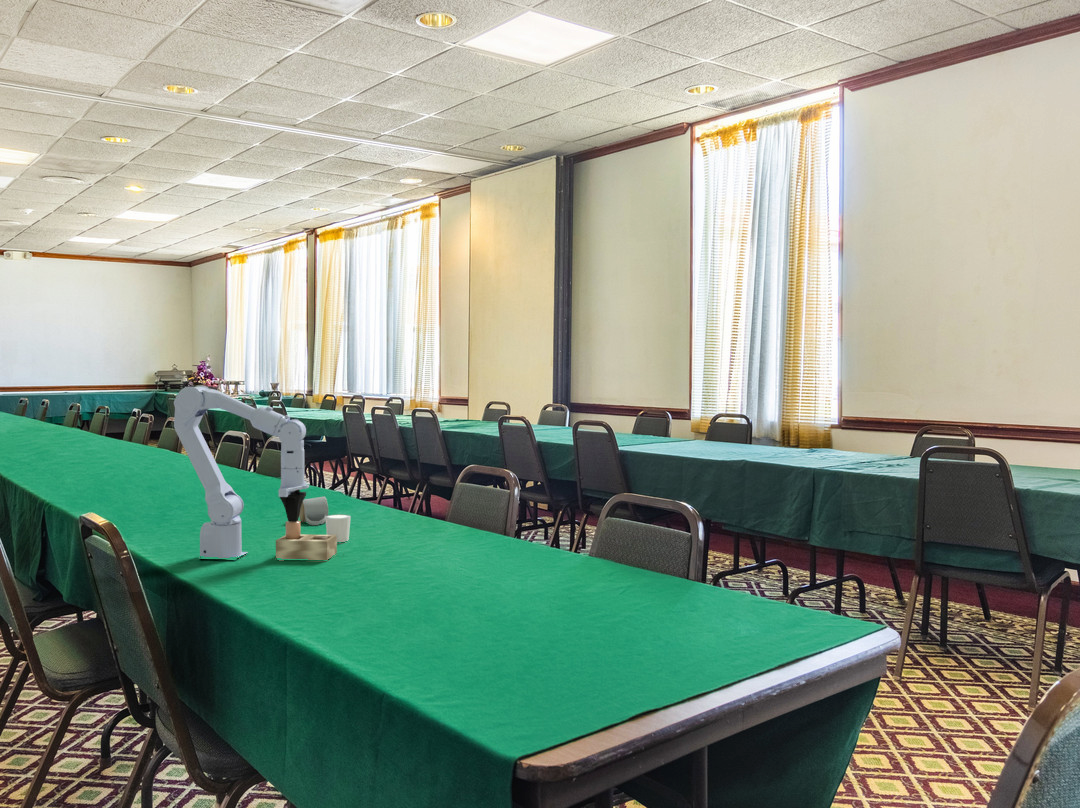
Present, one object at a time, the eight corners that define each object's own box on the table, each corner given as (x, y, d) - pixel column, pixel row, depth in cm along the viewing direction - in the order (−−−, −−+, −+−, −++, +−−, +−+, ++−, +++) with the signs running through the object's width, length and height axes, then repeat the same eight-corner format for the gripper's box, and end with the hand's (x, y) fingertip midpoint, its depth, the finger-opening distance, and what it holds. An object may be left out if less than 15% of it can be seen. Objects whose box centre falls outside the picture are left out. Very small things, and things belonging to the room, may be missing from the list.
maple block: (275, 560, 212) (275, 540, 211) (287, 553, 219) (287, 534, 219) (327, 561, 211) (327, 541, 211) (336, 554, 219) (336, 535, 218)
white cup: (354, 539, 238) (354, 514, 238) (346, 544, 231) (346, 518, 231) (330, 538, 239) (330, 513, 238) (321, 543, 232) (321, 518, 232)
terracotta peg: (283, 541, 213) (283, 522, 213) (288, 539, 217) (288, 520, 217) (297, 542, 213) (297, 523, 213) (302, 539, 217) (302, 520, 217)
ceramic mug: (297, 520, 265) (297, 496, 265) (323, 518, 269) (323, 494, 268) (304, 527, 256) (304, 502, 255) (331, 525, 259) (331, 500, 259)
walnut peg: (311, 557, 213) (310, 538, 213) (315, 554, 217) (315, 535, 217) (325, 557, 213) (325, 538, 213) (329, 554, 217) (329, 535, 216)
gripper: (298, 471, 207) (298, 526, 207) (317, 464, 221) (317, 516, 222) (270, 471, 207) (270, 526, 208) (291, 464, 222) (291, 515, 222)
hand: (293, 521), depth 215 cm, fingers closed
